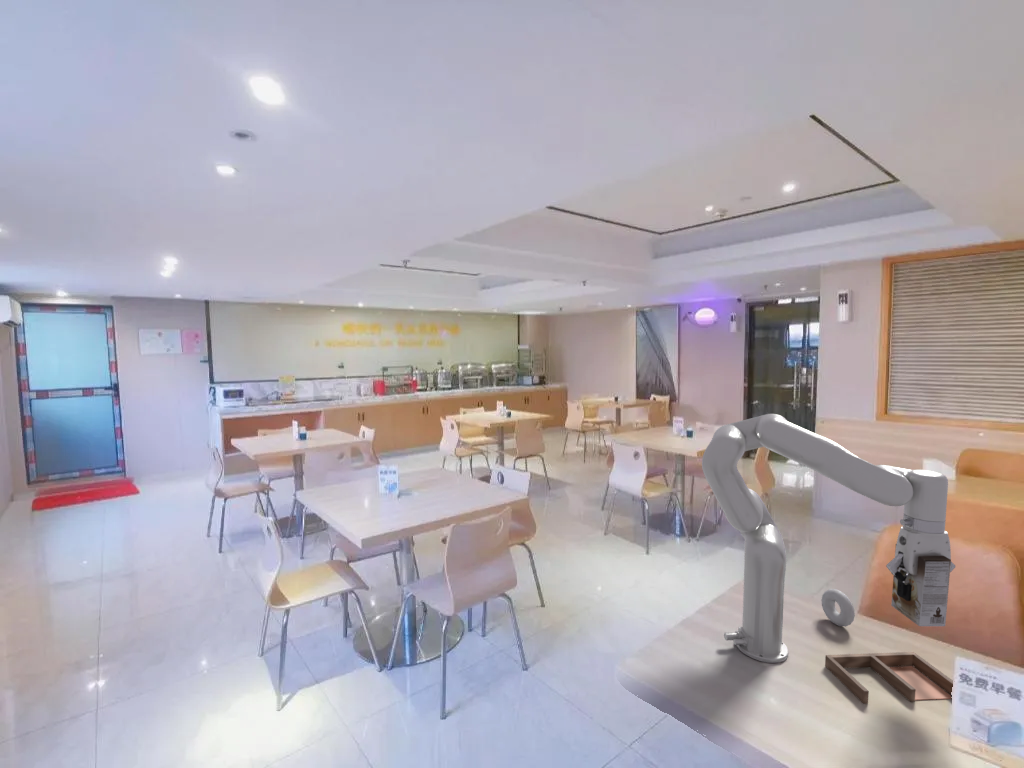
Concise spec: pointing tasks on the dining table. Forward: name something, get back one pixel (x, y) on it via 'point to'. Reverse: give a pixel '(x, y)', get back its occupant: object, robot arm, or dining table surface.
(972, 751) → the dining table surface
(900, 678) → the rack
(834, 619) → the donut
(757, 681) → the dining table surface
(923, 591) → the coffee box
